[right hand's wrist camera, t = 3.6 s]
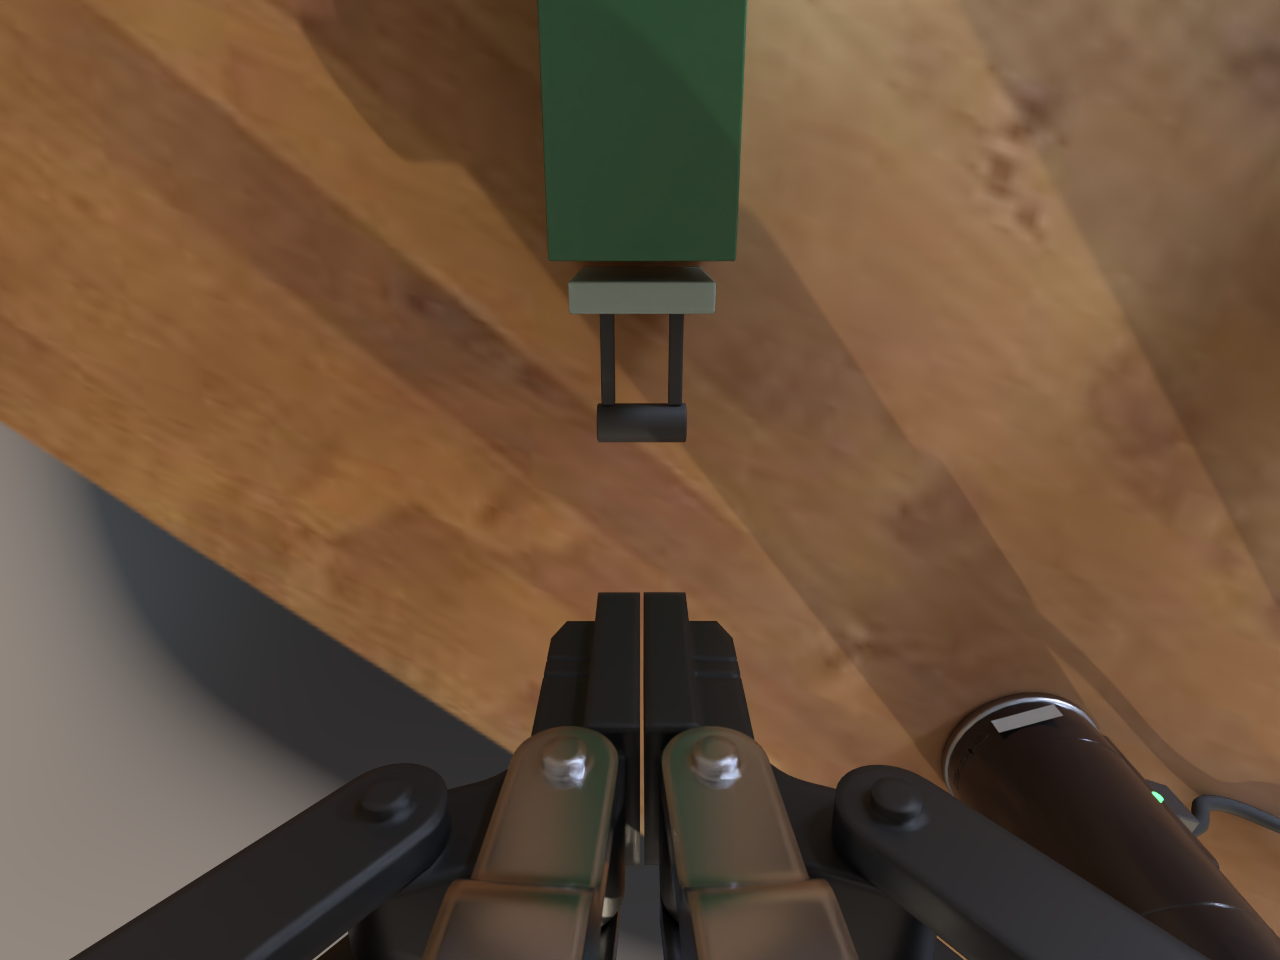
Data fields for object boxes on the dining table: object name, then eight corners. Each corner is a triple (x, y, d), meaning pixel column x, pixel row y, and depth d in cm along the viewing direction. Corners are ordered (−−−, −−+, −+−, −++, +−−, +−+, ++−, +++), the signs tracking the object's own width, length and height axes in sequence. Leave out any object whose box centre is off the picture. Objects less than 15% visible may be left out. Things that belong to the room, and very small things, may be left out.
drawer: (696, 420, 37) (709, 469, 30) (586, 420, 37) (574, 469, 30) (714, -248, 28) (739, -398, 21) (568, -248, 28) (545, -398, 21)
